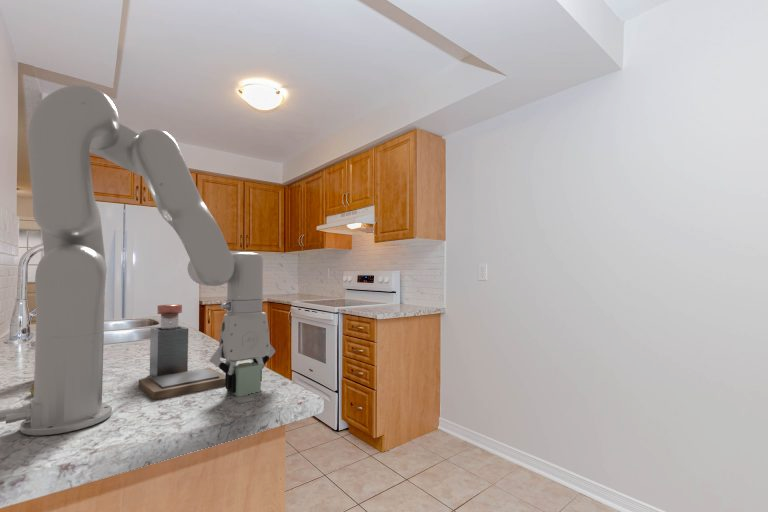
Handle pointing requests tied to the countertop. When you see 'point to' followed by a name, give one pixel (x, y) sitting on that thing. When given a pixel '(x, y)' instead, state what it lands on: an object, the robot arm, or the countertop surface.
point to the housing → (247, 378)
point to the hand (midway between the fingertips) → (243, 388)
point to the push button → (169, 316)
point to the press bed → (181, 383)
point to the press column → (168, 351)
